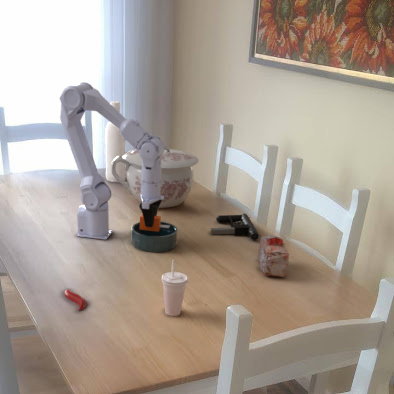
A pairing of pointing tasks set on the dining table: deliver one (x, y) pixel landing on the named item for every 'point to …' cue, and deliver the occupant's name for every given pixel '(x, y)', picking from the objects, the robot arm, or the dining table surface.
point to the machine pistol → (236, 226)
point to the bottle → (114, 148)
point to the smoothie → (174, 291)
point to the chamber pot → (170, 175)
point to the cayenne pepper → (76, 299)
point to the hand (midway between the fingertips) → (150, 224)
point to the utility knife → (155, 226)
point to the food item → (273, 256)
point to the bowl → (154, 238)
